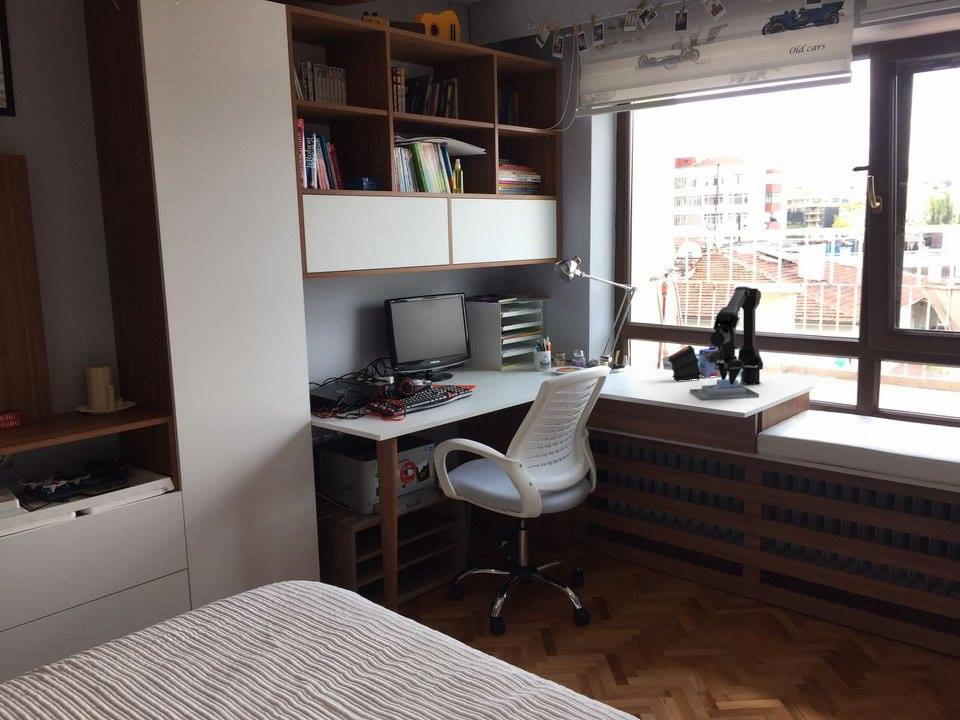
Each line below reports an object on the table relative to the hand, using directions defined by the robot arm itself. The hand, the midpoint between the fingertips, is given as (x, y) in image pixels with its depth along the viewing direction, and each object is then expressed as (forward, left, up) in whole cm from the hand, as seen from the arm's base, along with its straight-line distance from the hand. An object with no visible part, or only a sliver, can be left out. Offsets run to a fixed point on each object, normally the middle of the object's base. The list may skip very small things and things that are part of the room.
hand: (727, 382), depth 318 cm
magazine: (+7, -34, -5) cm, 35 cm away
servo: (0, 0, -4) cm, 4 cm away
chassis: (+2, 0, -5) cm, 5 cm away
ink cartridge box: (-7, -40, -5) cm, 41 cm away
